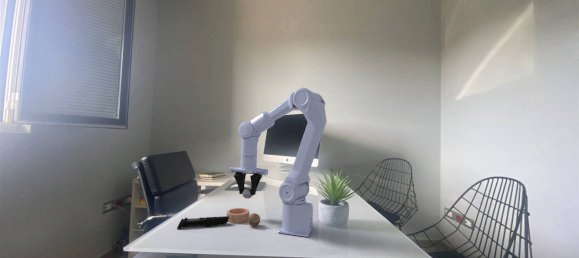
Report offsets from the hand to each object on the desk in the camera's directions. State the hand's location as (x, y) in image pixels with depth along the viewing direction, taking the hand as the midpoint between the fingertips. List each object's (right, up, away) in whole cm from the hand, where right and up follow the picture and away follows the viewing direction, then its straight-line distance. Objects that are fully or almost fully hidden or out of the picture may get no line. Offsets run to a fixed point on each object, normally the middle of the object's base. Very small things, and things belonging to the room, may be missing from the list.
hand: (247, 194), depth 83 cm
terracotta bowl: (-3, -8, -2) cm, 9 cm away
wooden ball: (+4, -6, -8) cm, 10 cm away
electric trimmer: (-13, -8, -8) cm, 17 cm away
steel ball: (0, 0, 0) cm, 1 cm away
